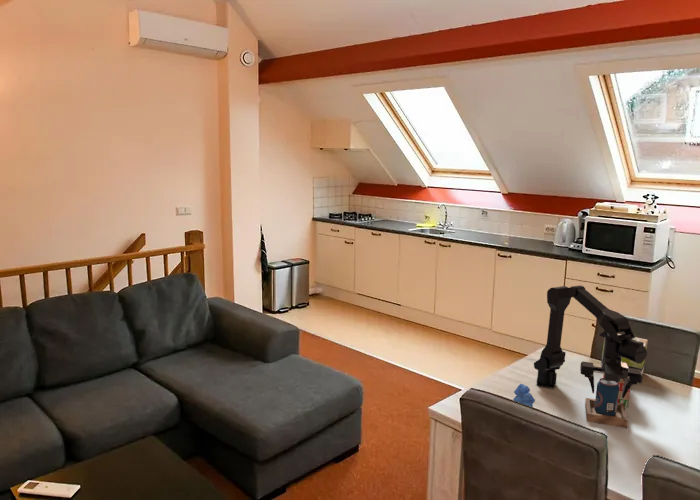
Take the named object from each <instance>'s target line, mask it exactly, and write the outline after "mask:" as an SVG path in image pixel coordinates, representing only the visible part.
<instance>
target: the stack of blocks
mask: <svg viewBox="0 0 700 500" xmlns="http://www.w3.org/2000/svg"><path fill="white" fill-rule="evenodd" d="M621 366H622V367H624V368H628V366H627V364H626V363H622V361H621ZM602 378H604V374H603V376H602ZM624 382H625V379H621V380H620V382H618V386H619V396H618V403H621V404H624V405H625V408H629V402H630V394H631V393H630V392H631V389H632V388H631V387H632V386H631V387H630V388H629V390H628V391H627V393H626V395H625V397H624V398H622V391H623V387H624Z"/></svg>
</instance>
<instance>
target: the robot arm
mask: <svg viewBox="0 0 700 500" xmlns="http://www.w3.org/2000/svg"><path fill="white" fill-rule="evenodd" d="M572 298H573V299H575V300H576V301H577V302H578V303H579V304H580V305H582V307H584V308H585V309H586V310H587V311H588V312H589V313H591V314H592V315H593V316H594V317H595V318H596V319H597V322H598V324H599V326H600V327H601V329H602V330H603V331H602V332H600V333H599V337H602V338H603V339H604V338H605V342H604V341H603V345H604V351H603V350H602V352H603V360H602V359H601V360H602V367H601V366H595V365H594V362H592V361H591V362H590V361H581V362H580V366H579V367H580V369H579V372H580V375H583V376H584V377H585V378H587V379H588V381H589V384H590V388H591V392H592V394H594V393H595V375H594V373H598V374H603V375H604V379H605V380H606V381H615V382H620V380H621V379H625V382H624V387H623V391H622V398H624V397H625V395H626V393H627V391H628V390H629V388H630V387H633V386H634V385H635V386H636V385H638V384H643V373H641V371H640V370H639V369H633V368H624V367H622V366H621V360H622V357H624V358H626V359H629V360H631V361H633V362H636V363H642V362H643V361H644V360H645V361H646V359H647V355H648V352H647V351H648V350H646V348H645V347H644V343H643V342H640V341H636V340H633V339H634V338H635V337H636V336H635V335H634V331H633V329H632V327H631V326H630V323H629V319H628V318H627V317H626V316H625V315H623V314H621V313H620V312H617V311H614V310H613V309H610V308H608V307H607V306H606V305H604V304H603V303H602V302H601V301H599V299H597V298H596V297H595V296H594V295H592V293H590V292H589V291H588V290H587V289H586V287H585V286H584V285H579V284H578V285H572V286H569V287H568V286H565V285H562V286H554V287H550V288H549V289H547V292H546V301H547V302H546V303H547V305H548V306H549V308H550V309H549V310H550V311H549V320H548V329H547V338H546V345H545V346H544V347H543V349H542V350H541V352H540V355H539V356H540V357H539V359H537V360H535V362H533V367H534V368H533V369H534V370H537V377H536V386H538V387H544V388H551V389H554V388H555V386H556V385H557V374H558V373H557V372H556V371H557V370H560V369H561V367H562V366H563V365H564V363H565V362H566V354H567V353H566V351H564V350H563V349H562V347H561V344H562V335H563V327H564V319H565V311H566V309H567V308H568V307H569V305H570V303H571V300H572ZM618 334H622V335H618Z"/></svg>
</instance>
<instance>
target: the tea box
mask: <svg viewBox="0 0 700 500" xmlns="http://www.w3.org/2000/svg"><path fill="white" fill-rule="evenodd" d="M622 334H623V333H618V335H622ZM603 339H604V340H603V343H604V342H605V338H604V337H603ZM633 340H636V341H640V342H643V343H644V347H645V348H646V351H648V350H647V349H648V342H649V340H648V339H645V338H641V337H637V336H635V338H634V339H633ZM603 351H604V344H603V347H602V352H601V353H602V354H601V361H600V367H602V360H603ZM621 361H622V363H626V364H627V366H628V368H633V369H639V370H640V371H641V373H642V374H643V373H644V368H645V362H646V359H645V360H644V361H643V362H642V363H636V362H633V361H631V360H629V359H626V358H624V357H622V360H621Z"/></svg>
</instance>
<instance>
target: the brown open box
mask: <svg viewBox="0 0 700 500" xmlns="http://www.w3.org/2000/svg"><path fill="white" fill-rule="evenodd" d="M594 407H595V398H590V397H585V401H584V408H585V418H586V422H589V423H594V424H595V423H596V424H599V425H606V426H613V427H615V428H616V427H617V428H623V429H628V425H629V419H628V415H627V411H626V407H625V405H624V404H621V403H618V404H617V413H616V415H615V416H614V417H613V416H608V415H602V414H597V413H596V411H595V409H594Z"/></svg>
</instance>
